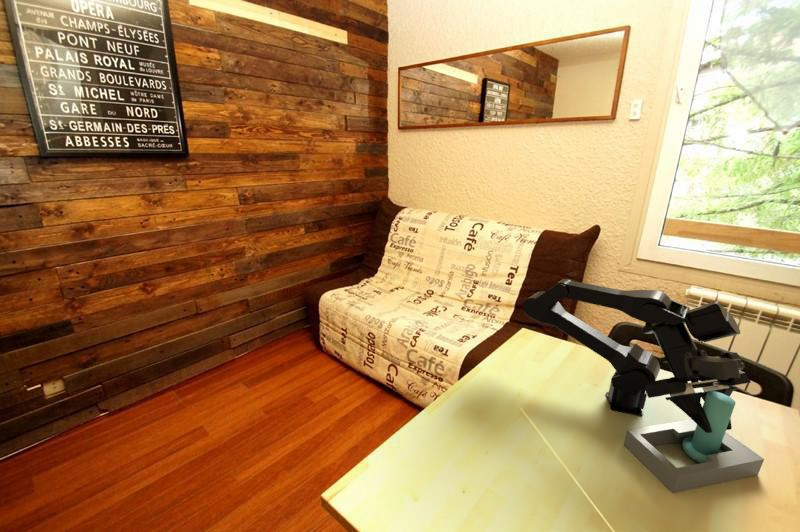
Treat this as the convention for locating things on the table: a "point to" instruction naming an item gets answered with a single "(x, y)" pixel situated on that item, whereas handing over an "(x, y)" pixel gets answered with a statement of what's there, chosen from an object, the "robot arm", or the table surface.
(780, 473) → the table surface
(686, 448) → the peg
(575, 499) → the table surface
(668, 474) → the keyhole plate
